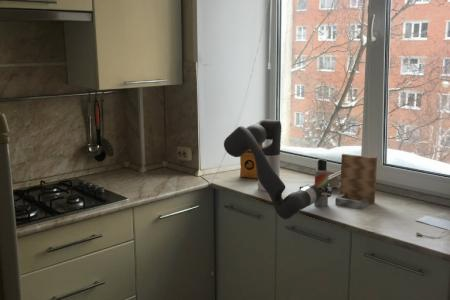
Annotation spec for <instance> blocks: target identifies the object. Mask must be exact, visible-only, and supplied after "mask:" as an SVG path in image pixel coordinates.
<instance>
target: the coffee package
mask: <svg viewBox="0 0 450 300" xmlns="http://www.w3.org/2000/svg"><path fill="white" fill-rule="evenodd" d="M259 146H260V148H262V147H264V146H263V143H262V144H261V145H259ZM239 160H240V162H239V163H240V172H239V173H240V174H239V176H240V177H242V178H248V179H254V180H255V179H257V180H258V176H257V170H256V163H255V158H254V155H253V153H252V151H251V150H248V151H246V152H245V153H244V154H243V155H242V156H240V157H239Z"/></svg>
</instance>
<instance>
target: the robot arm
mask: <svg viewBox="0 0 450 300" xmlns="http://www.w3.org/2000/svg"><path fill="white" fill-rule="evenodd" d="M266 140H267V141H268V140H269V141H271V143H270V144H269V145H265V146H263V147H262V148H260V146H259V145H261V144H262V145H263V144H264V143H265V141H266ZM281 140H282V122H281V120H279V119H260V120H259V121H258V122H256V123H255V124H251V125H249V126H247V127H245V126H242V125H241V126H240V125H239V126H237V128H235V129H234V130H233V131H232V132H231V133H230V134H229V135H227V137H226V138H225V139H224V141H223V148H224V150H225V152H226V153H227V154H228V155H230V156H231V157H234V158H240V156H242V155H243V154H244V153H245V152H246V151H248V150H251V151H252V153H253V155H254V158H255V163H256V170H257V176H258V179H257V189H258V190H260V191H262V192H266V193H267V194H268V195H269V197H270V198H269V199H270V200H271V202H272V205H273V207H274V210H275V212H276V214H277V216H278V217H280V218H282V219H284V220H289V219H291V218H292V217H293V216H295V215H296V214H297V213H298V212H300V211H301V210H304V209H306V208H307V207H309V206H312V205H314V203H315V202H317V201H318V200H319V198H320V197H321V196H323V195H326V196H327V197H328V198H331V196H332V195H333V188H332V187H331V185H329V184H328V186H327V187H316V186H315V184H314V185H313V184H307V183H306V184H304V185H301V186H299V189H298V190H297V191H296V192H295V191H293V192H291V193H289V194H288V195H286V196H285V197H284V198H283V196H282V194H283V192H285V189H286V185H285V183H284V182H283V181H282V180H281V178H280V173H281V170H280V169H281V143H282V142H281Z"/></svg>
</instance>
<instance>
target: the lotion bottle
mask: <svg viewBox="0 0 450 300" xmlns="http://www.w3.org/2000/svg"><path fill="white" fill-rule="evenodd" d="M327 161H328V160H326V159H325V158H318V159H317V166H316V167H317V169H315V171H314V183H315V186H316V187H327V186H328V185H329V184H328V180H329V176H330V175H329V172H330V171H329V169H327V164H328V162H327ZM328 204H329V197H327V196H326V195H323V196H321V197H320V198H319V200H318V201H317V202H315V203H313V205H314V206H316V207H326V206H328Z"/></svg>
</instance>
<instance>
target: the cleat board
mask: <svg viewBox="0 0 450 300" xmlns="http://www.w3.org/2000/svg"><path fill="white" fill-rule="evenodd" d="M340 164H341V165H340V166H341V167H340V171H341V175H340V182H339V183H340V185H339V186H340V187H339V188H340V189H339V195H338V196H337V197H335V206H340V207H346V208H350V209H351V208H352V209H359V210H363V209H364V208H366V206H369V204H370V205H374V204H375V202H376V201H375V200H376V188H377V187H376V186H377V169H378V166H377V165H378V157H374V156H367V155H358V154H357V155H356V154H347V153H343V154H341V162H340Z"/></svg>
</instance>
